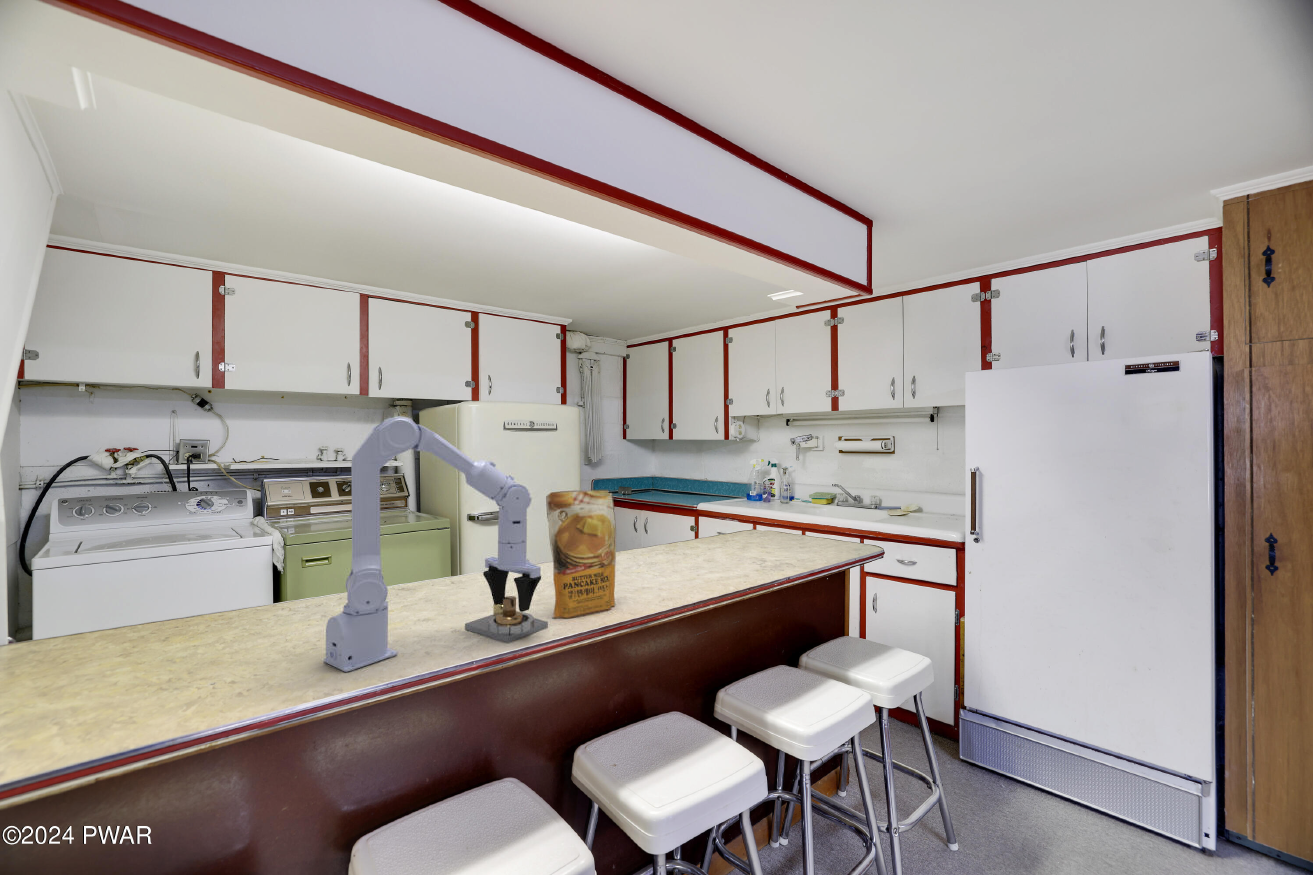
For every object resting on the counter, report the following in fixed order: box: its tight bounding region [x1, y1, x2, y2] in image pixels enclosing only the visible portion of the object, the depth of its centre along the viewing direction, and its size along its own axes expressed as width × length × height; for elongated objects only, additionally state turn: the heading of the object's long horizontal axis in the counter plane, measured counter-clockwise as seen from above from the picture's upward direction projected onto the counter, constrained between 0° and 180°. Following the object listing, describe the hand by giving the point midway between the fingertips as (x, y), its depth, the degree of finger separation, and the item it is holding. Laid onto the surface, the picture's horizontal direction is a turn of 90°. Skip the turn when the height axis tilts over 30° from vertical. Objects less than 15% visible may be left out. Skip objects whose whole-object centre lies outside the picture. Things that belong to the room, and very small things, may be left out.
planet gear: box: [496, 595, 522, 625], centre depth 113 cm, size 5×5×6 cm
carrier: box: [464, 603, 549, 644], centre depth 116 cm, size 11×14×5 cm
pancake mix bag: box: [545, 489, 617, 619], centre depth 128 cm, size 7×19×28 cm, turn 126°
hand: (511, 606), depth 114 cm, fingers open, 7 cm apart
